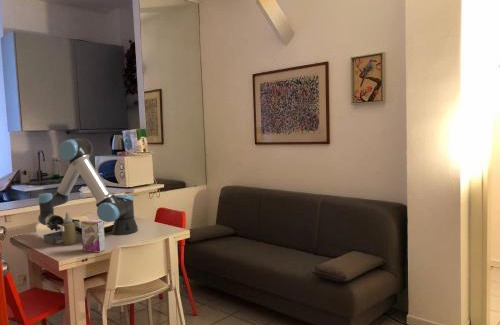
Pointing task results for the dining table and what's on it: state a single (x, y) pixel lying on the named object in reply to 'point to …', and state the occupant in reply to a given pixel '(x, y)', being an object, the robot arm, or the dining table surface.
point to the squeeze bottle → (69, 231)
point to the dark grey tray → (53, 237)
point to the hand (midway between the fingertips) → (72, 227)
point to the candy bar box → (93, 235)
